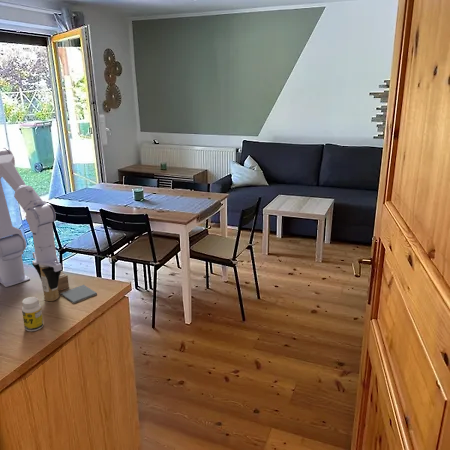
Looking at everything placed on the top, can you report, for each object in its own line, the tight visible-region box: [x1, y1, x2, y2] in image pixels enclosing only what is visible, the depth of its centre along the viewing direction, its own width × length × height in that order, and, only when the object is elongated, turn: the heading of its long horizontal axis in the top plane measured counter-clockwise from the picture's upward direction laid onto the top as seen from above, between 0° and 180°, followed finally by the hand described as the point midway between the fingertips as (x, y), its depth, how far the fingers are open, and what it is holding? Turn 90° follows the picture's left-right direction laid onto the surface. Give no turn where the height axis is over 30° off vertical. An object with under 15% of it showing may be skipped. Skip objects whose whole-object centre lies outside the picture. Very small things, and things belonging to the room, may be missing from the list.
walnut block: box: [58, 271, 70, 292], centre depth 138 cm, size 4×4×5 cm
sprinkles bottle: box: [39, 264, 60, 302], centre depth 130 cm, size 5×5×14 cm
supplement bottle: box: [21, 296, 44, 332], centre depth 115 cm, size 5×5×8 cm
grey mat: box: [60, 284, 98, 304], centre depth 134 cm, size 8×8×1 cm
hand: (50, 285), depth 130 cm, fingers closed on sprinkles bottle, 4 cm apart
